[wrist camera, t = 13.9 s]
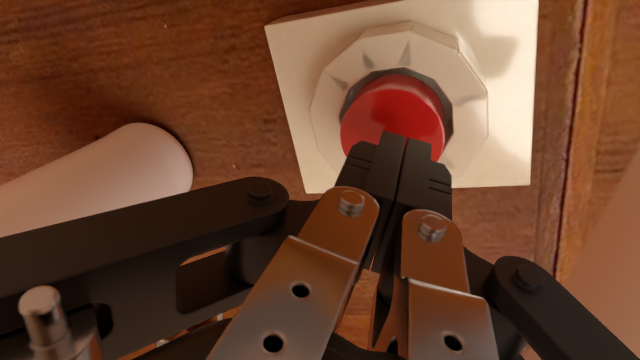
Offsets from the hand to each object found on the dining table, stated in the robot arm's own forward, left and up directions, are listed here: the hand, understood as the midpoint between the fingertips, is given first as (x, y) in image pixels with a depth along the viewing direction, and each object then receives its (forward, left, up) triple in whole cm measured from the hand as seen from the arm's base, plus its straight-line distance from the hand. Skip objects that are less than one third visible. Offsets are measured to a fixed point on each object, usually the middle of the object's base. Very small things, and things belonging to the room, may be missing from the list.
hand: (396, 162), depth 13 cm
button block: (0, 0, -7) cm, 7 cm away
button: (0, 0, -4) cm, 4 cm away
